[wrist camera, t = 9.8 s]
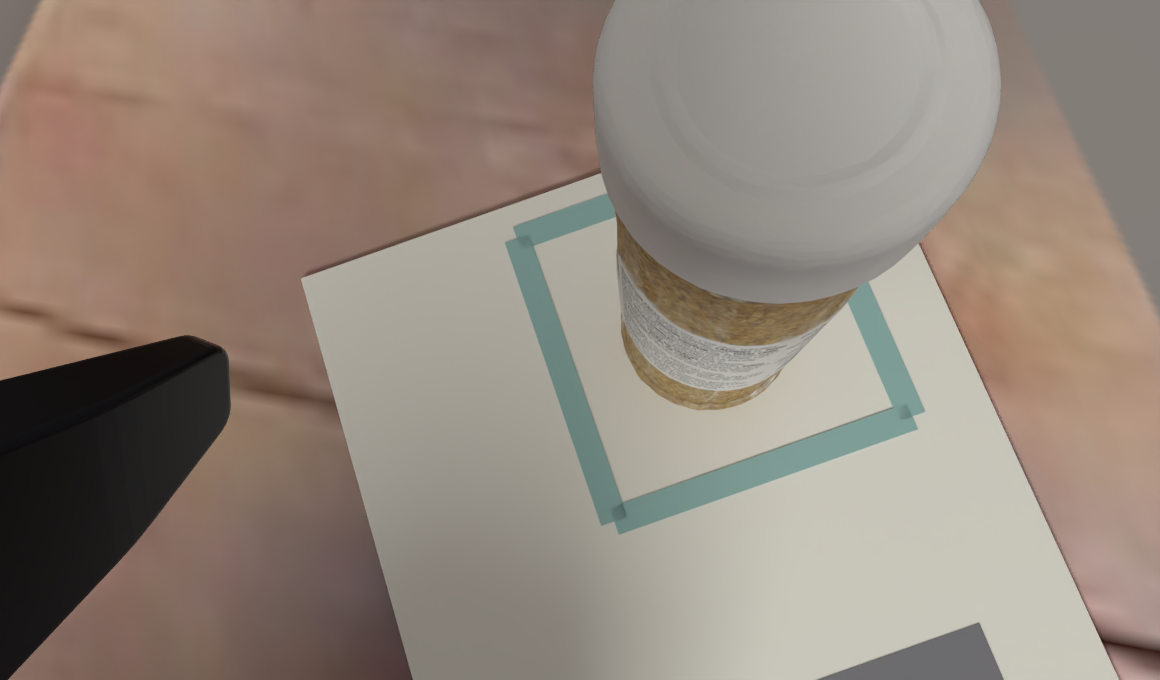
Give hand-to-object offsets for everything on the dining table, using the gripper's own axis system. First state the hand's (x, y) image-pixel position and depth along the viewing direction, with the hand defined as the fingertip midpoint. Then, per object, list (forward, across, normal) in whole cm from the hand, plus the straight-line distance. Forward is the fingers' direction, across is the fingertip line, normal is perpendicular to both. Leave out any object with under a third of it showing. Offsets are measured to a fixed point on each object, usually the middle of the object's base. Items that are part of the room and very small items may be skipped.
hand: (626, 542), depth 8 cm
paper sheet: (+10, -1, +9) cm, 14 cm away
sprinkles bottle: (+14, 0, +6) cm, 15 cm away
